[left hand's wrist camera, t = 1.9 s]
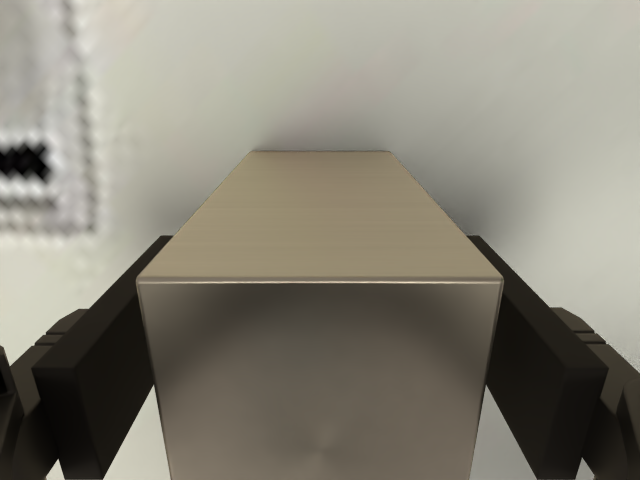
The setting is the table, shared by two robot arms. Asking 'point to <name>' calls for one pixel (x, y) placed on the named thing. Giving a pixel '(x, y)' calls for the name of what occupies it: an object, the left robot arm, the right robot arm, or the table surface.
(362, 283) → the block
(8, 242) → the table surface
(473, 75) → the table surface
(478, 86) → the table surface
